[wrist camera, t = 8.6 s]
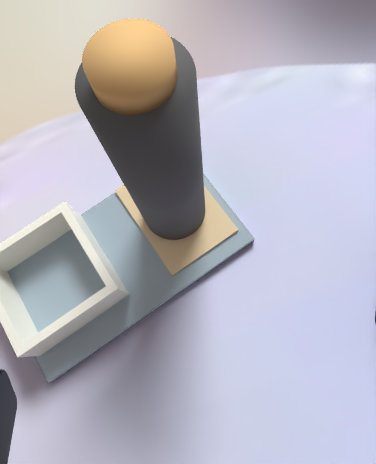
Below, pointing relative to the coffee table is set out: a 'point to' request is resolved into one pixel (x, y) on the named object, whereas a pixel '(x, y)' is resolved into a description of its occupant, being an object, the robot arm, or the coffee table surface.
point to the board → (101, 274)
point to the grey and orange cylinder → (147, 120)
